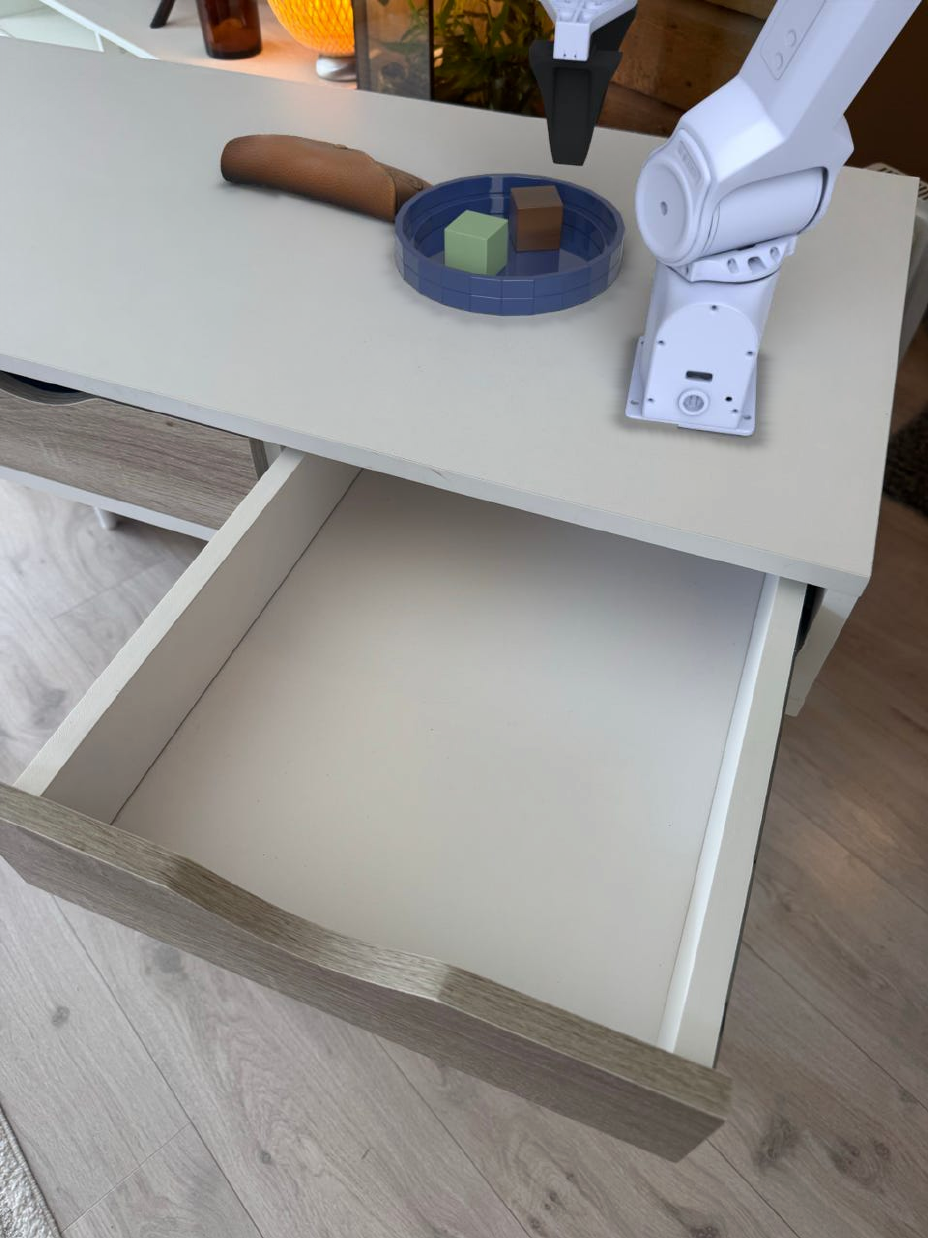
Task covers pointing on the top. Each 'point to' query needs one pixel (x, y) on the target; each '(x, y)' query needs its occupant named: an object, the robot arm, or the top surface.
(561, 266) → the bowl
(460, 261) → the sage block
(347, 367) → the top surface
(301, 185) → the sunglasses case
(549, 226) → the walnut block
